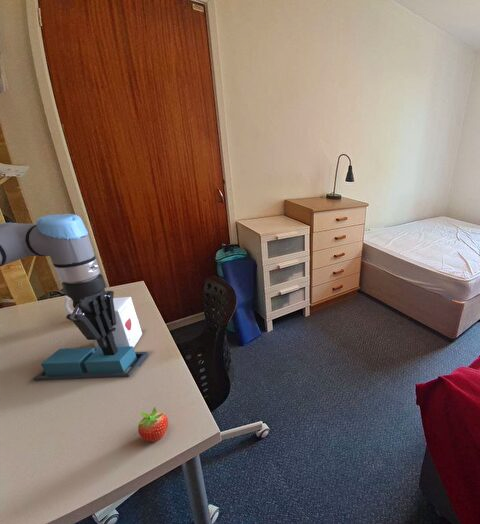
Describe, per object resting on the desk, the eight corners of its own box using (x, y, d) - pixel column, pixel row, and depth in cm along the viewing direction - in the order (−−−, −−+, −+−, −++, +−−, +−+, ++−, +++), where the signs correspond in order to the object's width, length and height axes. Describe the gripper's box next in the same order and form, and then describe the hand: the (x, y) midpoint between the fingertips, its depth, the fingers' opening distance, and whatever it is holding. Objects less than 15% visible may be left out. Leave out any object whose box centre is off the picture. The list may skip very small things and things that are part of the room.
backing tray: (36, 384, 75) (32, 378, 74) (64, 360, 83) (62, 354, 82) (130, 380, 77) (128, 374, 76) (149, 356, 85) (147, 351, 85)
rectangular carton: (132, 352, 87) (118, 311, 81) (98, 356, 85) (80, 315, 79) (143, 334, 95) (131, 295, 89) (112, 337, 93) (98, 298, 87)
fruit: (175, 426, 65) (168, 402, 62) (166, 449, 60) (157, 423, 57) (150, 429, 64) (141, 404, 61) (138, 452, 59) (127, 426, 56)
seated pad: (47, 378, 76) (40, 363, 74) (66, 362, 82) (59, 348, 80) (83, 376, 77) (77, 362, 75) (99, 360, 82) (94, 347, 80)
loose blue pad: (89, 376, 77) (83, 362, 75) (104, 360, 83) (99, 347, 81) (124, 374, 78) (119, 360, 76) (137, 359, 83) (132, 346, 82)
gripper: (77, 290, 63) (109, 369, 73) (116, 266, 75) (139, 337, 85) (41, 290, 63) (78, 371, 72) (85, 267, 75) (112, 338, 84)
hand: (111, 353), depth 78 cm, fingers closed
